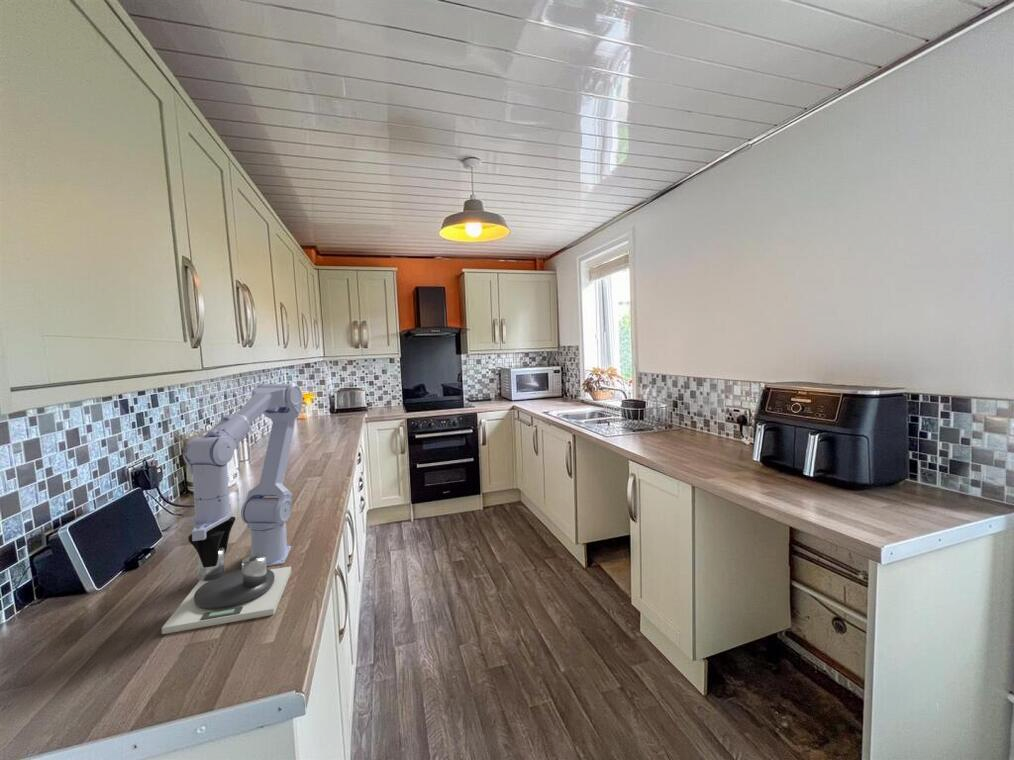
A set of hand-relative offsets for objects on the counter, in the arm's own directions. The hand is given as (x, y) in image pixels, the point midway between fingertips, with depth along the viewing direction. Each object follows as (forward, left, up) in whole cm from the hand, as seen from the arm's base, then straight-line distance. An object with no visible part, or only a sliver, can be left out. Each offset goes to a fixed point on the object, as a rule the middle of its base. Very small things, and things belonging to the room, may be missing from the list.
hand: (215, 560), depth 85 cm
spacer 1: (0, -1, -3) cm, 3 cm away
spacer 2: (0, +7, -6) cm, 9 cm away
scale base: (+1, +3, -8) cm, 9 cm away
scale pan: (0, +3, -7) cm, 7 cm away
